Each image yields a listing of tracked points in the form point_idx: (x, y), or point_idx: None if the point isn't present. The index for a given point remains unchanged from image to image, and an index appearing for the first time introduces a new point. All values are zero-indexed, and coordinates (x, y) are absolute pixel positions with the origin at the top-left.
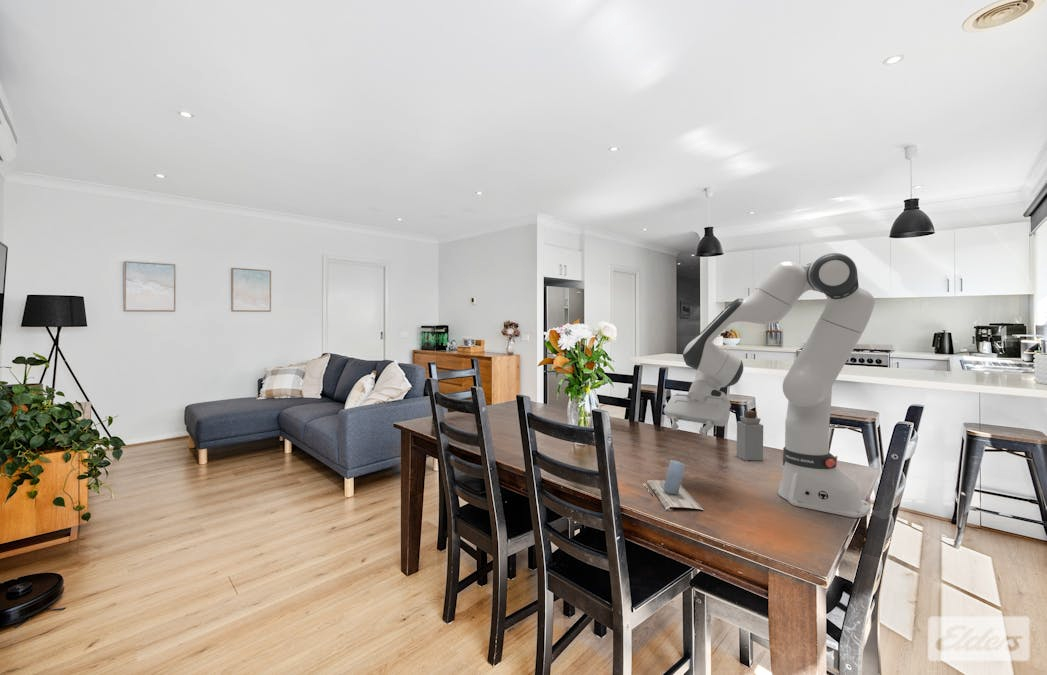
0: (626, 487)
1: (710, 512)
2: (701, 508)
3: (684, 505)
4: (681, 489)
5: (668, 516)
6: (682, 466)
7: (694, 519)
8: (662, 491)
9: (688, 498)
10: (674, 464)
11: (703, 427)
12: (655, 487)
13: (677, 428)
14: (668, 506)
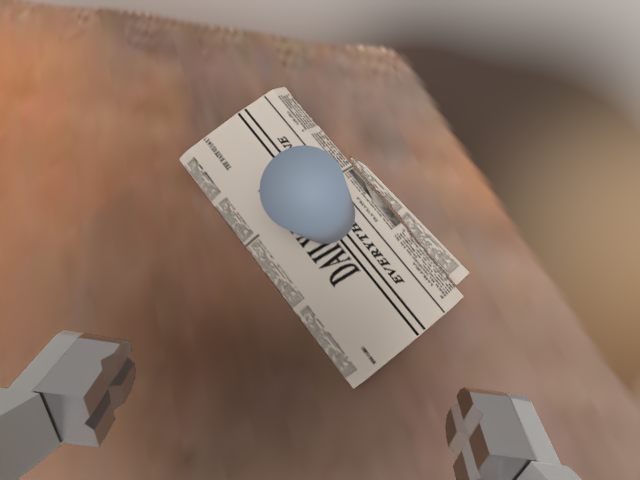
0: (494, 199)
1: (158, 161)
2: (189, 162)
3: (239, 131)
4: (309, 295)
5: (264, 57)
6: (266, 171)
7: (190, 81)
8: (355, 209)
9: (253, 215)
10: (305, 148)
11: (37, 392)
12: (397, 235)
13: (456, 460)
14: (282, 95)
